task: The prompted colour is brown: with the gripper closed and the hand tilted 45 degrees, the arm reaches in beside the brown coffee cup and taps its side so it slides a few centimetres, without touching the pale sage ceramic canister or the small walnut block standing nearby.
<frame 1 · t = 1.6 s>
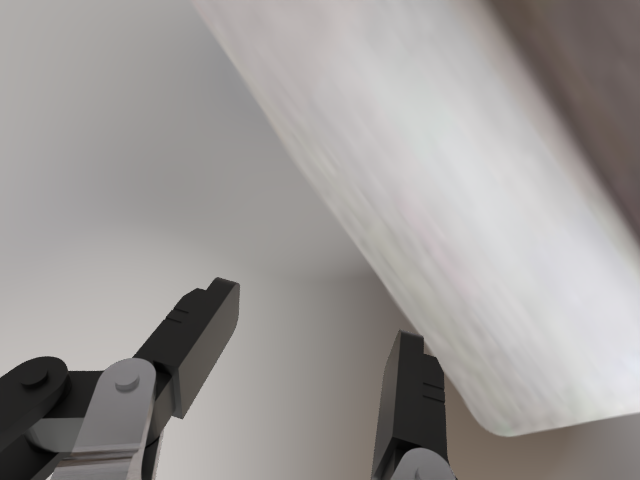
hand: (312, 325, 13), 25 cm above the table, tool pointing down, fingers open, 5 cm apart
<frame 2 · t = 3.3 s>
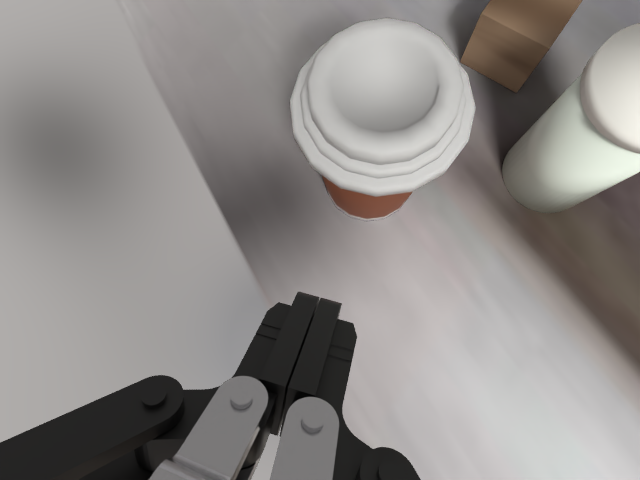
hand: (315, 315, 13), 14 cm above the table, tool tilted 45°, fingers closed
coffee cup: (368, 180, 29), on the table
walnut block: (503, 54, 31), on the table
canister: (544, 173, 28), on the table
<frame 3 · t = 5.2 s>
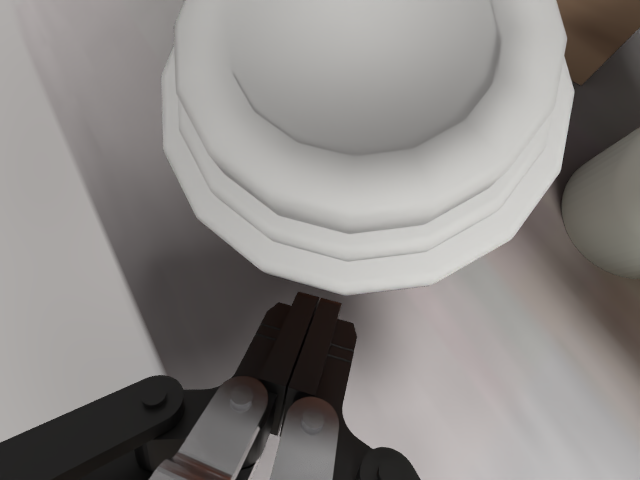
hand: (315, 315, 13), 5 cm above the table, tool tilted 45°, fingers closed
coffee cup: (350, 215, 19), on the table, touching gripper
walnut block: (559, 26, 20), on the table
canister: (629, 213, 18), on the table
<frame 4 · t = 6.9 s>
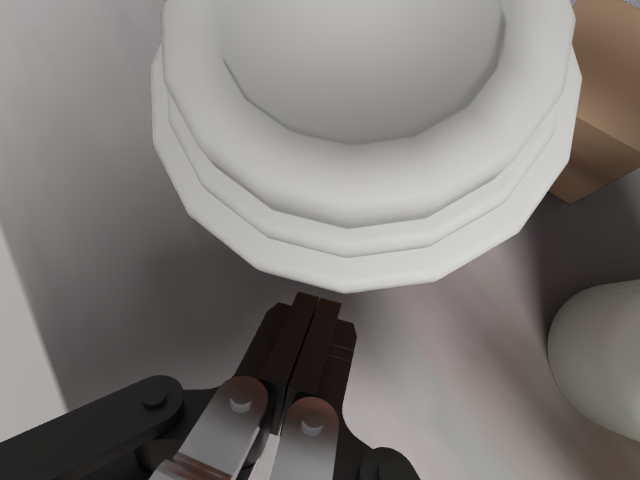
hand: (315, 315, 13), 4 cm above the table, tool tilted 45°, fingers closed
coffee cup: (350, 212, 18), on the table, touching gripper
walnut block: (547, 134, 18), on the table
canister: (622, 356, 16), on the table
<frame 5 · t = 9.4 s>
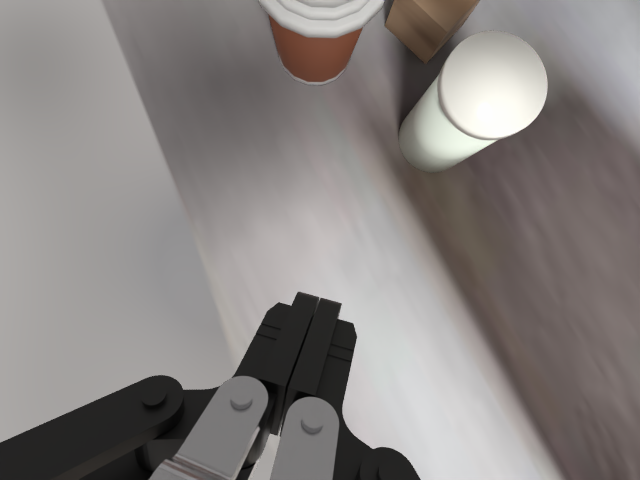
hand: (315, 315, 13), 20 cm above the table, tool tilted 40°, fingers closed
coffee cup: (314, 51, 34), on the table
walnut block: (423, 26, 35), on the table
canister: (432, 139, 34), on the table
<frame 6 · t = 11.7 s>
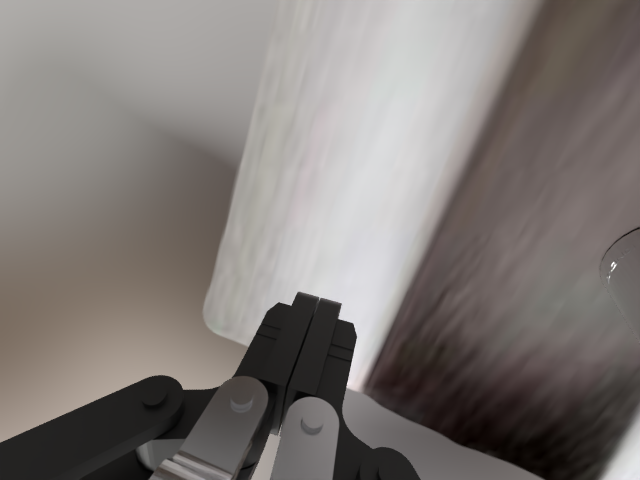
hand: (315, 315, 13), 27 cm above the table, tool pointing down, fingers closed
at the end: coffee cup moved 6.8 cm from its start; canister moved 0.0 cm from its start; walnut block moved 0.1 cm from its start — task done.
